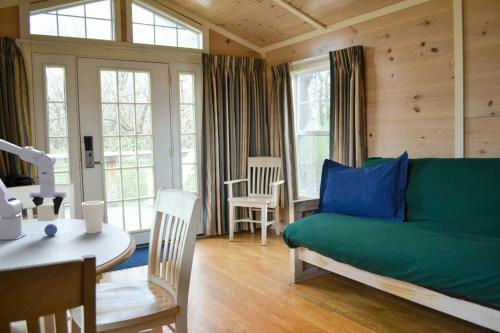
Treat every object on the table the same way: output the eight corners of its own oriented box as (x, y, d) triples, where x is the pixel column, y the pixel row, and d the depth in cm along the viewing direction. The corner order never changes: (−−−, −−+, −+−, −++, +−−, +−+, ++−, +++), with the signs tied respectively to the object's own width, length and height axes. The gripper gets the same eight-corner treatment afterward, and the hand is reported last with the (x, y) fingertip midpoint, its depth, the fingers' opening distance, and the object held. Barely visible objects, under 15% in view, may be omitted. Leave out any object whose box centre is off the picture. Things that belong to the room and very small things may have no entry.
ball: (47, 224, 180) (47, 235, 179) (42, 224, 175) (41, 236, 174) (59, 223, 180) (59, 235, 179) (54, 223, 175) (53, 235, 175)
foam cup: (97, 234, 179) (96, 204, 178) (78, 233, 181) (76, 204, 179) (109, 229, 188) (108, 201, 187) (90, 228, 190) (89, 200, 189)
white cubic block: (37, 221, 172) (37, 206, 172) (44, 217, 178) (44, 203, 178) (52, 221, 172) (51, 206, 172) (58, 217, 178) (58, 203, 178)
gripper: (24, 184, 170) (26, 216, 172) (60, 183, 170) (61, 216, 172) (33, 181, 177) (35, 213, 179) (67, 181, 177) (69, 212, 179)
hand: (48, 214), depth 176 cm, fingers closed on white cubic block, 6 cm apart
